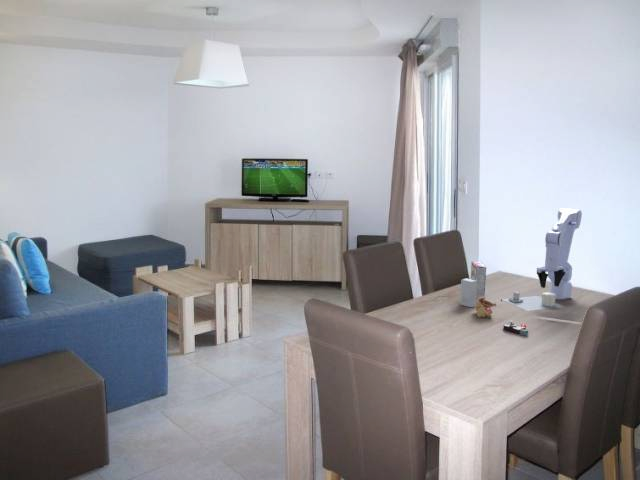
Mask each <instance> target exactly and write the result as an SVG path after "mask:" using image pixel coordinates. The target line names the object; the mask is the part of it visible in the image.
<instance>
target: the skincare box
mask: <svg viewBox="0 0 640 480" xmlns="http://www.w3.org/2000/svg"><path fill="white" fill-rule="evenodd" d="M476 293H477V281H475V280H471V278H463V279H461V280H460V306H464V307H467V308H468V307H469V308H474V307H476Z"/></svg>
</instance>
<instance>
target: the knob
mask: <svg viewBox="0 0 640 480" xmlns="http://www.w3.org/2000/svg"><path fill="white" fill-rule="evenodd" d="M555 295H556V294H554V293H550V291H549V292H542V295H541V297H542V303H541V304H542V305H544V306H554V305H555V303H556V299H555V297H556V296H555Z"/></svg>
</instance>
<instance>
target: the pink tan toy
mask: <svg viewBox="0 0 640 480" xmlns="http://www.w3.org/2000/svg"><path fill="white" fill-rule="evenodd" d="M495 306H497V304H496V303H493V302H491V301H488V300H487V299H486V297H485V296H484V297H480V298H478V299H477V300H476V306H475V307H473V308H474V310H475V311H476V315H477V317H478V318H482V319H484V318H485V317H487V318H490V319H491V318H492V317H493V316H492V314H493V310H492V307H495Z"/></svg>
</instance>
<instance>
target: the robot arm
mask: <svg viewBox="0 0 640 480" xmlns="http://www.w3.org/2000/svg"><path fill="white" fill-rule="evenodd" d="M582 215H583V213H582V210H581V209H573V208H564V207H560V208H559V209H558V211H557V221H558V222H555V223H554V225H553V226H552V228H551V230H549V231H547V232H546V234H545V238H544V239H545V240H544V241H545V249H546V250H545V260H544V261H545V263H544V266H539V267H536V275H537V277H538V279H539V284H540V287H541V288H543V289H545V288H546V284H547V279H549V280H550V289H549V293H554V294H556V295H555V296H556V297H555V300H565V299H572V295H573V294H572V292H573V285H572V284H573V283H572V282H571V280H572V276H573V272H572V271H573V267H572V265H571V264H570V262H569V261H568V260H569V256H570V251H571V246H572V243H573V237H574V233H575V231H576V230H577V229H579V228H580V225H581V222H582Z"/></svg>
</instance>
